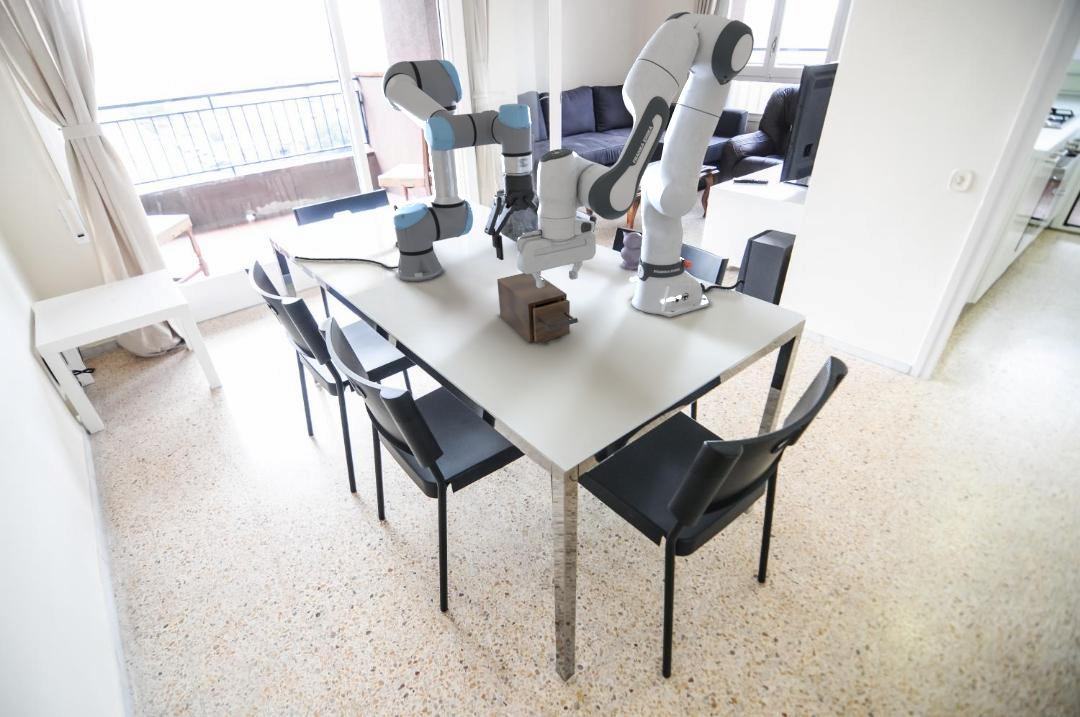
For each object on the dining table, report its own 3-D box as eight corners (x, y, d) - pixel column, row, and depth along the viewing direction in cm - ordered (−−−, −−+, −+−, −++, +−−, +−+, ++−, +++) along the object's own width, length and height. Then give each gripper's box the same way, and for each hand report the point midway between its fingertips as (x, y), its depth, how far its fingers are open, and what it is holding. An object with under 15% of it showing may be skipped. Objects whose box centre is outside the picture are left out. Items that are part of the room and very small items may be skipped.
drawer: (580, 342, 129) (581, 309, 124) (546, 352, 125) (545, 318, 120) (538, 308, 147) (537, 278, 142) (507, 316, 143) (504, 286, 138)
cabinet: (566, 332, 136) (566, 293, 130) (530, 343, 131) (528, 303, 125) (534, 306, 150) (532, 270, 144) (500, 315, 146) (497, 279, 140)
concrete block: (555, 250, 192) (555, 197, 181) (537, 255, 188) (535, 201, 177) (517, 234, 210) (514, 185, 200) (499, 238, 206) (496, 189, 196)
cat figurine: (648, 265, 175) (651, 232, 169) (635, 272, 170) (638, 238, 164) (628, 260, 180) (630, 227, 174) (615, 266, 175) (616, 233, 169)
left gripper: (478, 182, 117) (486, 267, 128) (567, 168, 128) (568, 248, 139) (466, 177, 123) (475, 258, 134) (552, 164, 133) (554, 241, 144)
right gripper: (524, 238, 107) (526, 296, 114) (600, 222, 115) (598, 278, 123) (510, 230, 111) (513, 287, 119) (585, 216, 120) (583, 270, 127)
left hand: (522, 253), depth 136 cm, fingers open, 13 cm apart
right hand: (557, 282), depth 121 cm, fingers open, 8 cm apart
